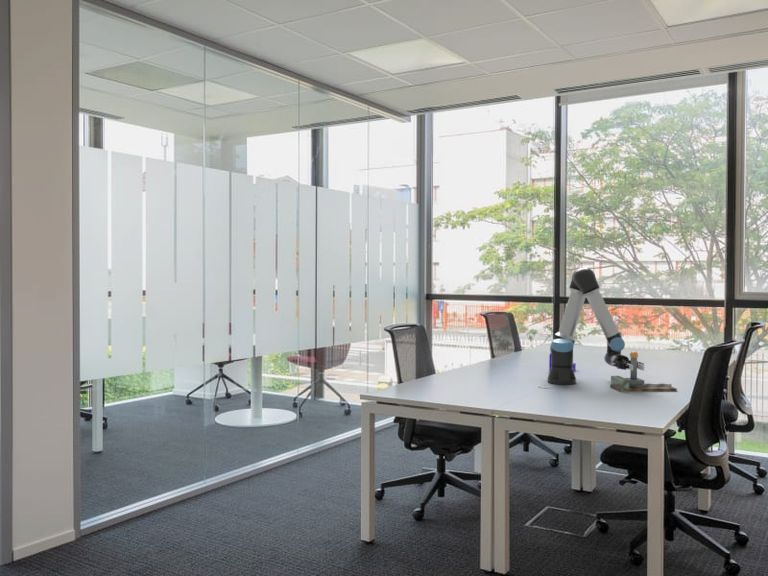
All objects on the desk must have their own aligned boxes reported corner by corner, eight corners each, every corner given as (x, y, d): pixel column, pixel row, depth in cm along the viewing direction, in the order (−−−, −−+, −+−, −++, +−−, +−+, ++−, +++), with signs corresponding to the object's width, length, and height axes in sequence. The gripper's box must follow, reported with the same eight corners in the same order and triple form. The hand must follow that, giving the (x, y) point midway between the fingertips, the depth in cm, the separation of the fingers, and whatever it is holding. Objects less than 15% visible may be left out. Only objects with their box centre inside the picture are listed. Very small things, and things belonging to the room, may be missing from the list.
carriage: (629, 386, 350) (629, 352, 350) (622, 383, 358) (623, 350, 358) (644, 386, 350) (644, 352, 350) (637, 383, 358) (638, 350, 358)
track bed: (619, 391, 347) (619, 380, 347) (609, 387, 361) (609, 375, 361) (677, 391, 348) (677, 380, 348) (665, 387, 362) (665, 375, 362)
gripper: (636, 368, 372) (655, 375, 349) (604, 368, 372) (620, 375, 348) (636, 354, 372) (655, 360, 349) (604, 354, 371) (620, 360, 348)
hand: (638, 367), depth 349 cm, fingers open, 5 cm apart
